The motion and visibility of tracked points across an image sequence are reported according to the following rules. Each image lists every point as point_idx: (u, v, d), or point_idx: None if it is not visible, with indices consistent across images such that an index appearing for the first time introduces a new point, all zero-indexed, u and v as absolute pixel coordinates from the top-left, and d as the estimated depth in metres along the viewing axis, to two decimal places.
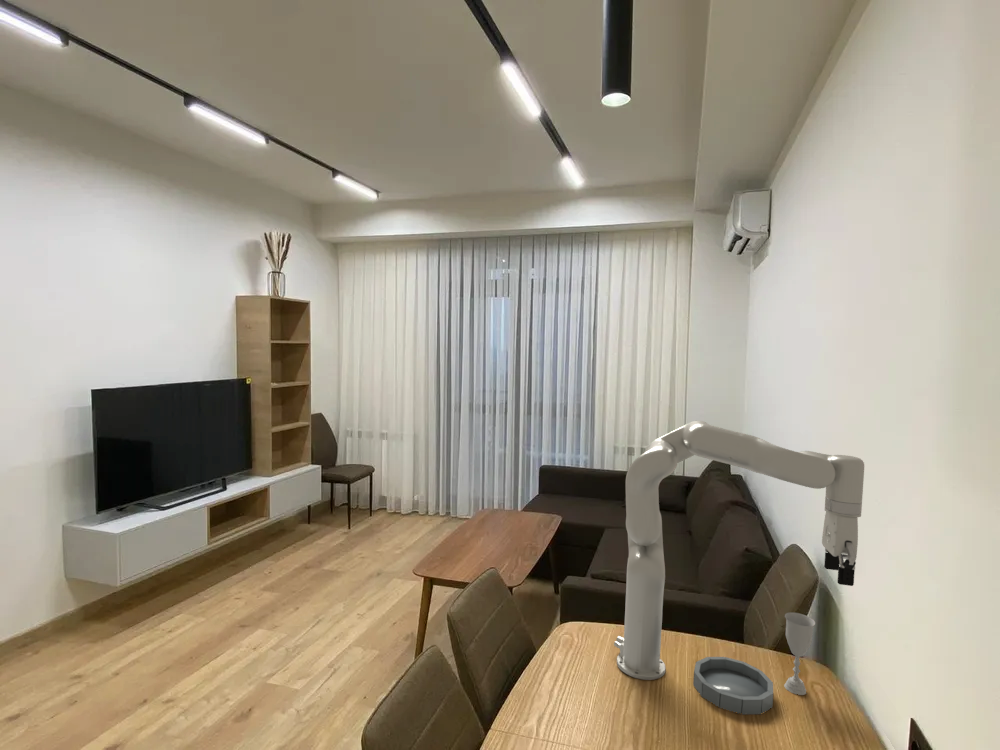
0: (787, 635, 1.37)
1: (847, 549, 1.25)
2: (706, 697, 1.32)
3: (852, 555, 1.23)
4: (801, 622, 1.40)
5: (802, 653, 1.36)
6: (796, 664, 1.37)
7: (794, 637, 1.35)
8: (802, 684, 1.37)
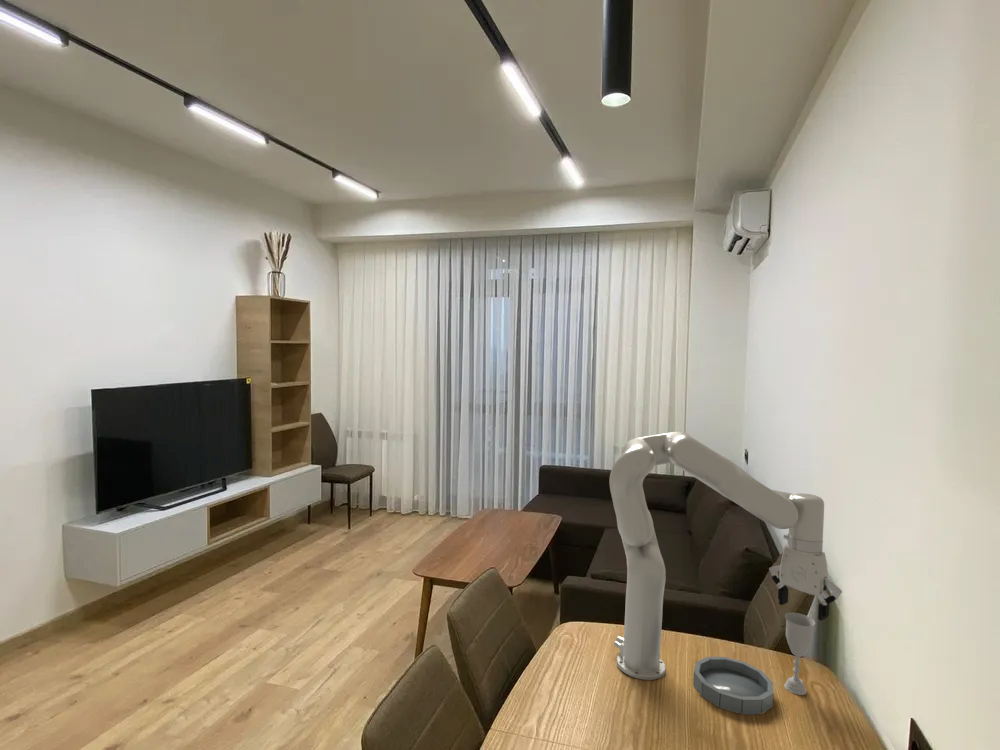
0: (787, 635, 1.37)
1: (830, 586, 1.31)
2: (706, 697, 1.32)
3: (840, 591, 1.30)
4: (801, 622, 1.40)
5: (802, 653, 1.36)
6: (796, 664, 1.37)
7: (794, 637, 1.35)
8: (802, 684, 1.37)
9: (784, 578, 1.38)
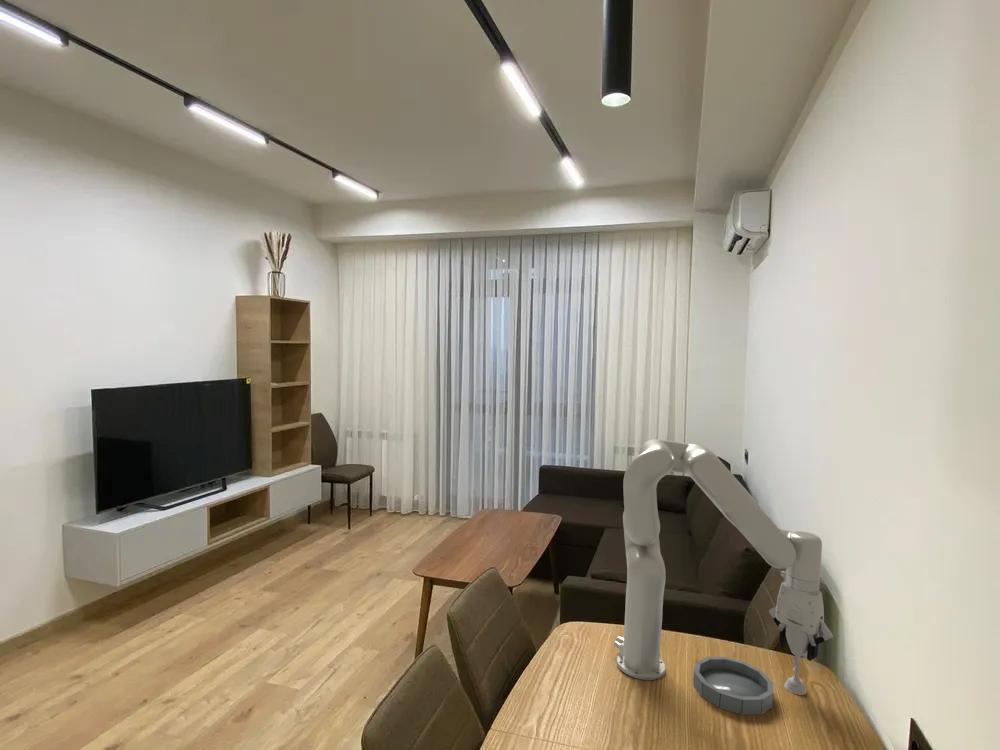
0: (787, 635, 1.37)
1: (823, 628, 1.32)
2: (706, 697, 1.32)
3: (831, 636, 1.31)
4: None
5: (802, 653, 1.36)
6: (796, 664, 1.37)
7: (794, 637, 1.35)
8: (802, 684, 1.37)
9: (780, 615, 1.39)
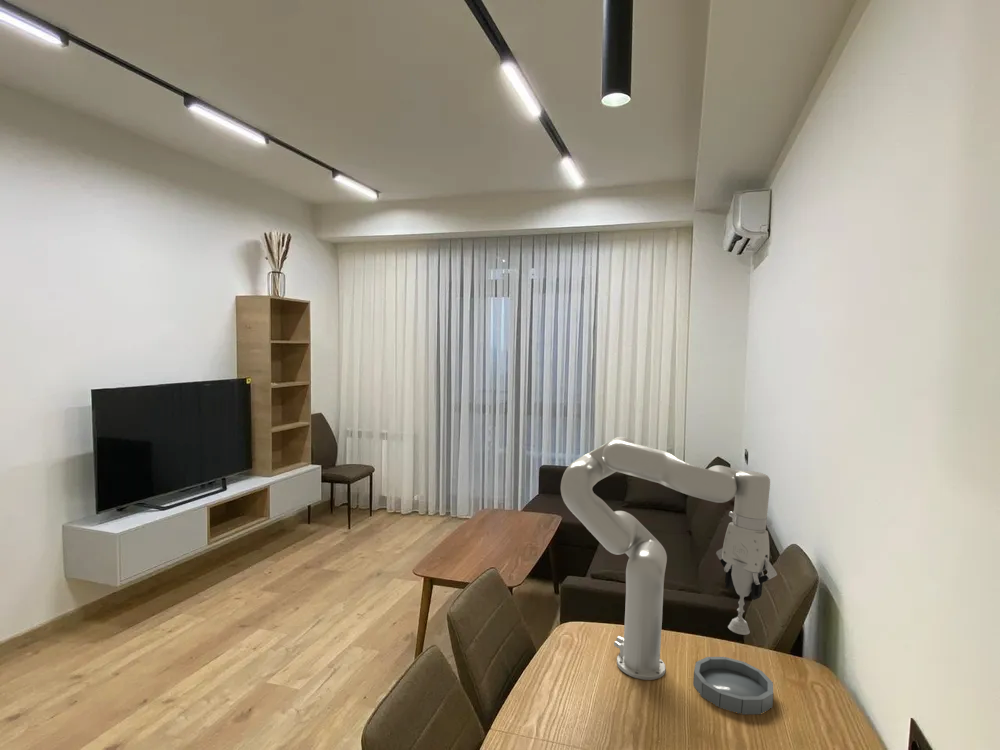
0: (732, 575, 1.35)
1: (767, 567, 1.30)
2: (706, 697, 1.32)
3: (775, 574, 1.29)
4: None
5: (746, 592, 1.34)
6: (740, 604, 1.35)
7: (738, 576, 1.33)
8: (745, 624, 1.35)
9: (726, 555, 1.36)
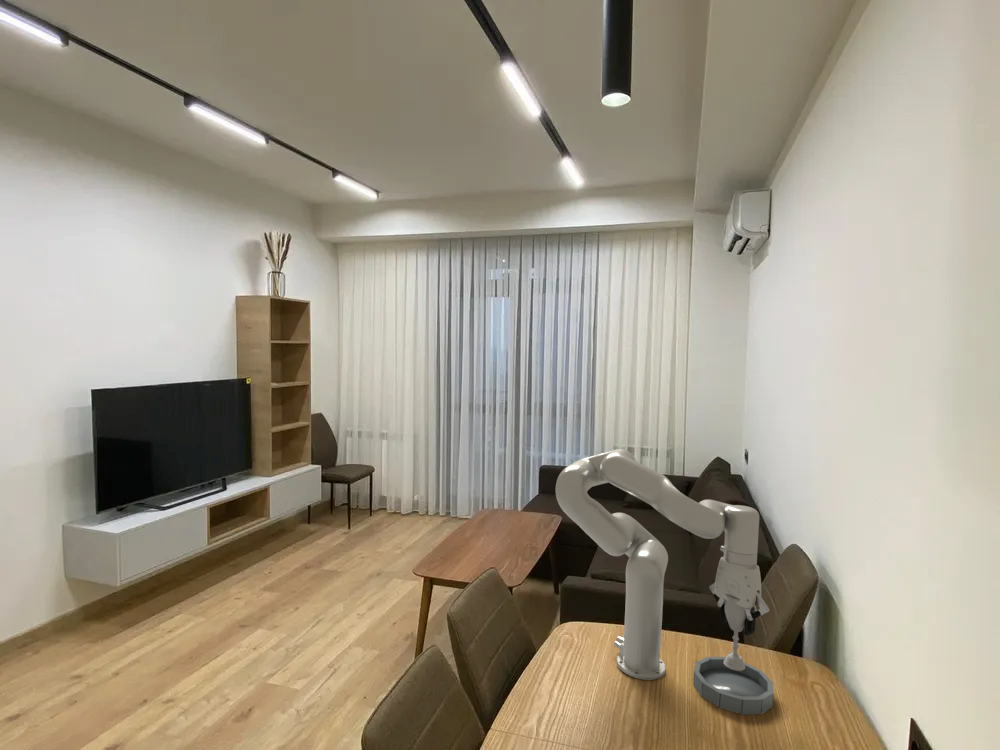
0: (725, 610, 1.35)
1: (759, 602, 1.30)
2: (706, 697, 1.32)
3: (767, 610, 1.29)
4: None
5: (740, 628, 1.33)
6: (735, 639, 1.35)
7: (731, 612, 1.33)
8: (740, 660, 1.34)
9: (719, 591, 1.36)
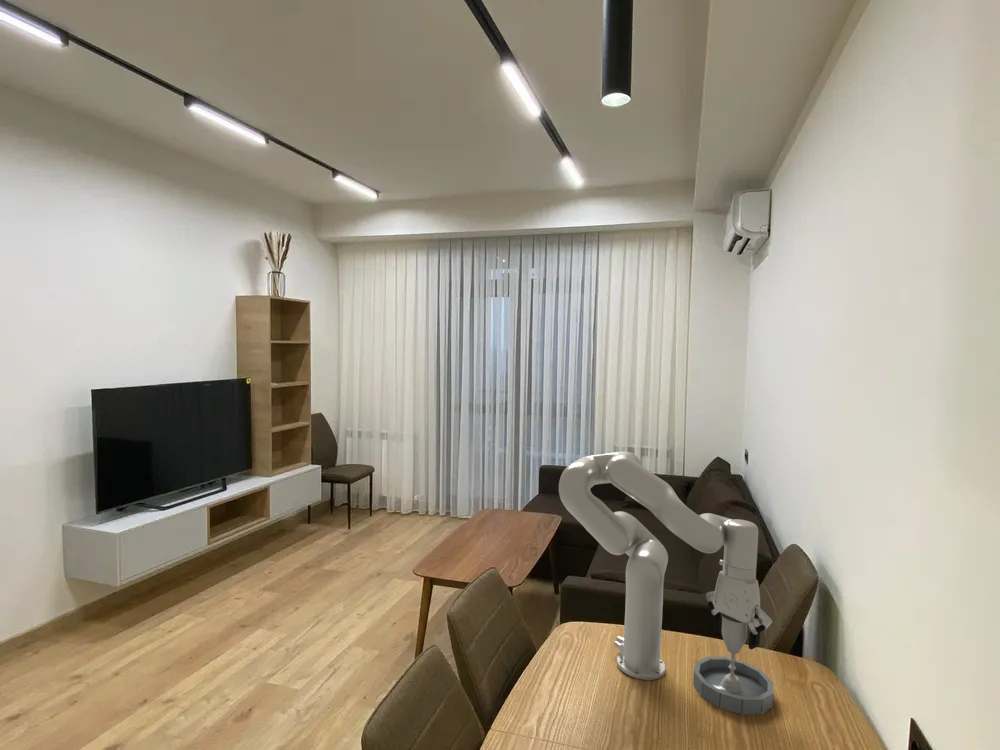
0: (722, 632, 1.36)
1: (760, 615, 1.30)
2: (706, 697, 1.32)
3: (769, 621, 1.28)
4: None
5: (737, 650, 1.34)
6: (731, 661, 1.35)
7: (728, 634, 1.34)
8: (737, 681, 1.35)
9: (718, 605, 1.36)
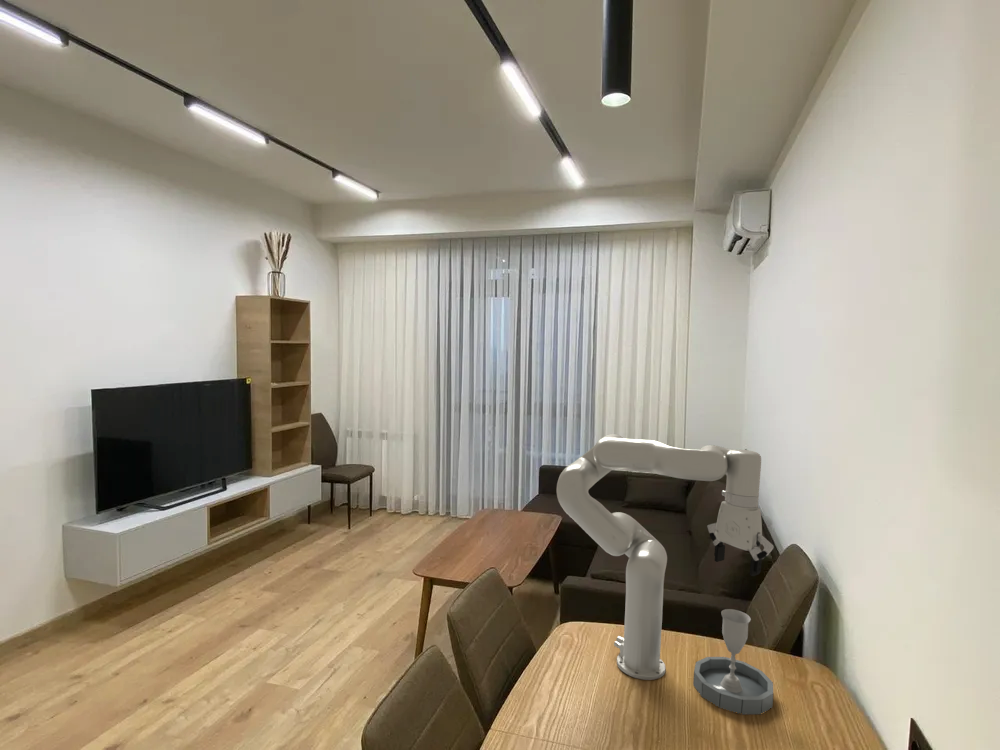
0: (723, 632, 1.35)
1: (762, 541, 1.30)
2: (706, 697, 1.32)
3: (771, 546, 1.28)
4: (738, 619, 1.38)
5: (737, 650, 1.34)
6: (732, 661, 1.35)
7: (729, 634, 1.34)
8: (738, 682, 1.35)
9: (719, 534, 1.37)
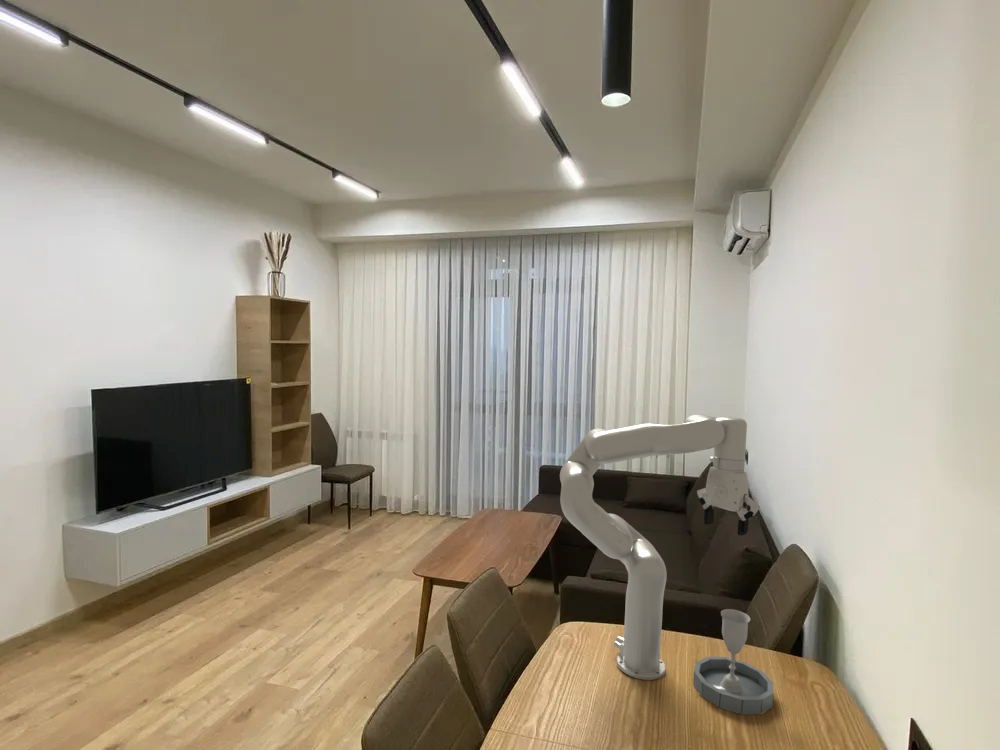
0: (722, 632, 1.36)
1: (749, 502, 1.37)
2: (706, 697, 1.32)
3: (757, 506, 1.35)
4: (738, 619, 1.38)
5: (737, 650, 1.34)
6: (732, 661, 1.35)
7: (728, 634, 1.34)
8: (737, 681, 1.35)
9: (708, 498, 1.44)
